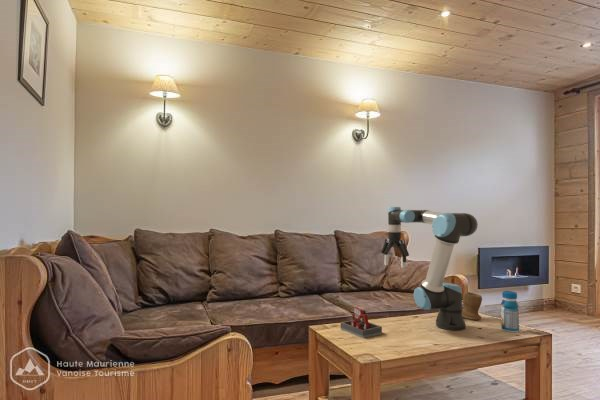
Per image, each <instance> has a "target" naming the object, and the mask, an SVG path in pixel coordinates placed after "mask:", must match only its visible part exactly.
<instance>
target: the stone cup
mask: <svg viewBox="0 0 600 400" xmlns="http://www.w3.org/2000/svg"><path fill="white" fill-rule="evenodd" d="M482 301H483V297H482V295H481V294H479V293H474V292H470V291H464V292H463V293H462V307H463V308H462V315H463V318H464V319H468V320H475V321H478V320H481V319H483V317H482V316H481V315H480V314H479V309H480V307H481V305H482Z"/></svg>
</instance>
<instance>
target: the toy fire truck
mask: <svg viewBox="0 0 600 400" xmlns="http://www.w3.org/2000/svg"><path fill="white" fill-rule="evenodd" d="M351 320H352V321H351V326H354V327H356V328H359V329H365V330H366V329H370V328H371V327H370V323H371V322H370V323H369V319H368V315H367V311H366V310H364V309H362V308H359V306H355V307H354V308H353V319H351Z"/></svg>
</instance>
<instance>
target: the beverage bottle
mask: <svg viewBox="0 0 600 400" xmlns="http://www.w3.org/2000/svg"><path fill="white" fill-rule="evenodd" d="M502 298H503V299H502V300H501V303H500V305H501V307H500V313H501V324H500V325H501V326H500V327H501V330H502V331H504V330H505V331H504V332H507V331H508V333H518V332H520V326H519V325H520V321H519V315H520V310H519V307H520V305H519V303H518V301H517V299H518V294H517V291H511V290H503V291H502Z"/></svg>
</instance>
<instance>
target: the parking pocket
mask: <svg viewBox="0 0 600 400" xmlns="http://www.w3.org/2000/svg"><path fill="white" fill-rule="evenodd" d="M352 320H353V319H351V320H348V321H347V320H345V321H341V322H340V330H341V331H345V332H347V333H350V334H352V335H354V336H356V337H359V338H362V339H365V338H369V337H373V336H378V335H381V334H382V333H383V328H382V327H383V326H380V325H378V324H375V323H372V322H369V321H368V322H369V323H370V327H371V328H370V329H366V330H365V329H359V328H356V327H354V326H351V321H352Z"/></svg>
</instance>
